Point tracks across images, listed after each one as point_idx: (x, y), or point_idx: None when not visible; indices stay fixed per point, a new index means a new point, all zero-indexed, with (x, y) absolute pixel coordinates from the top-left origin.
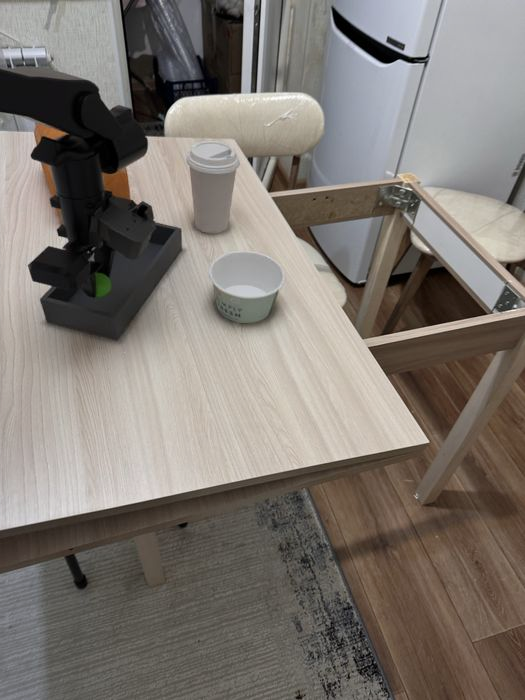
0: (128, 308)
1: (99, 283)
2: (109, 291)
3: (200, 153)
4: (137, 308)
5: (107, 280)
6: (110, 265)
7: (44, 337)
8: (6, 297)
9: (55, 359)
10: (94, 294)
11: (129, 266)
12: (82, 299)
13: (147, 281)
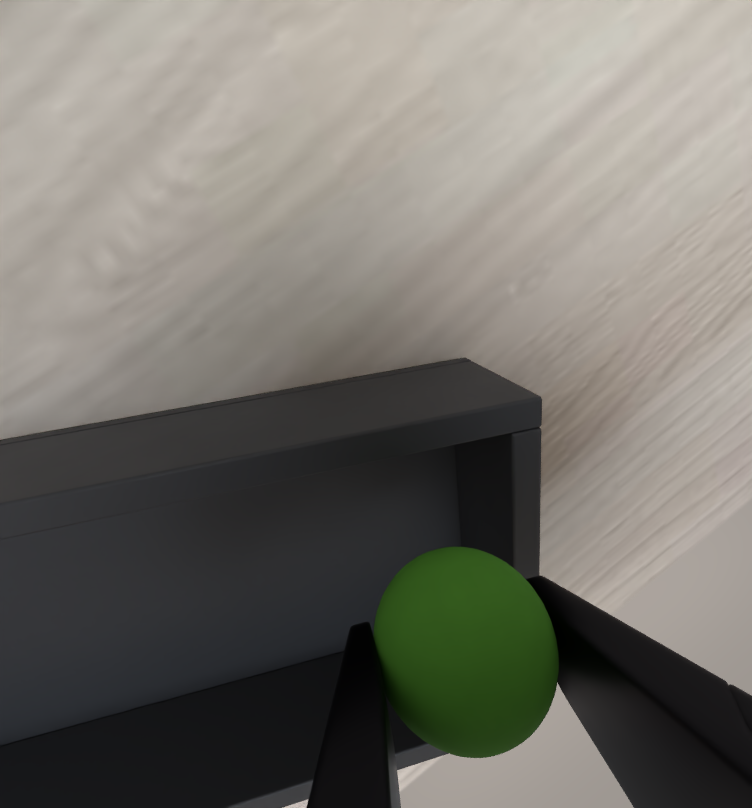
0: (356, 408)
1: (540, 650)
2: (444, 552)
3: None
4: (258, 401)
5: (466, 636)
6: (361, 772)
7: (540, 572)
8: (431, 762)
9: (615, 480)
10: (574, 594)
11: None
12: (333, 616)
13: (66, 466)
